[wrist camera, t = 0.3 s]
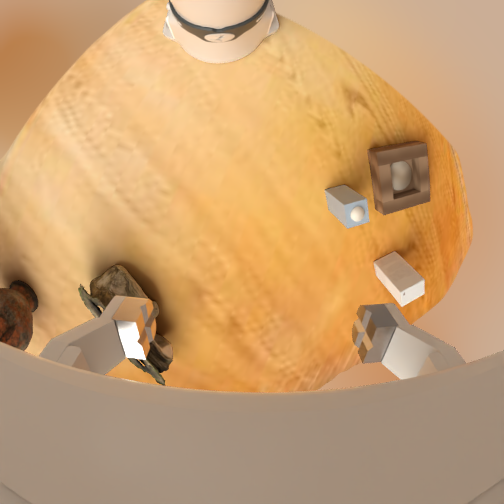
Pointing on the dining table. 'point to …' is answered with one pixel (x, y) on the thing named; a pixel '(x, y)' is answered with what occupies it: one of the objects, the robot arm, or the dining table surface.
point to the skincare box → (399, 278)
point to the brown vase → (17, 314)
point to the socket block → (399, 176)
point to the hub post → (347, 206)
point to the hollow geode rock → (124, 285)
